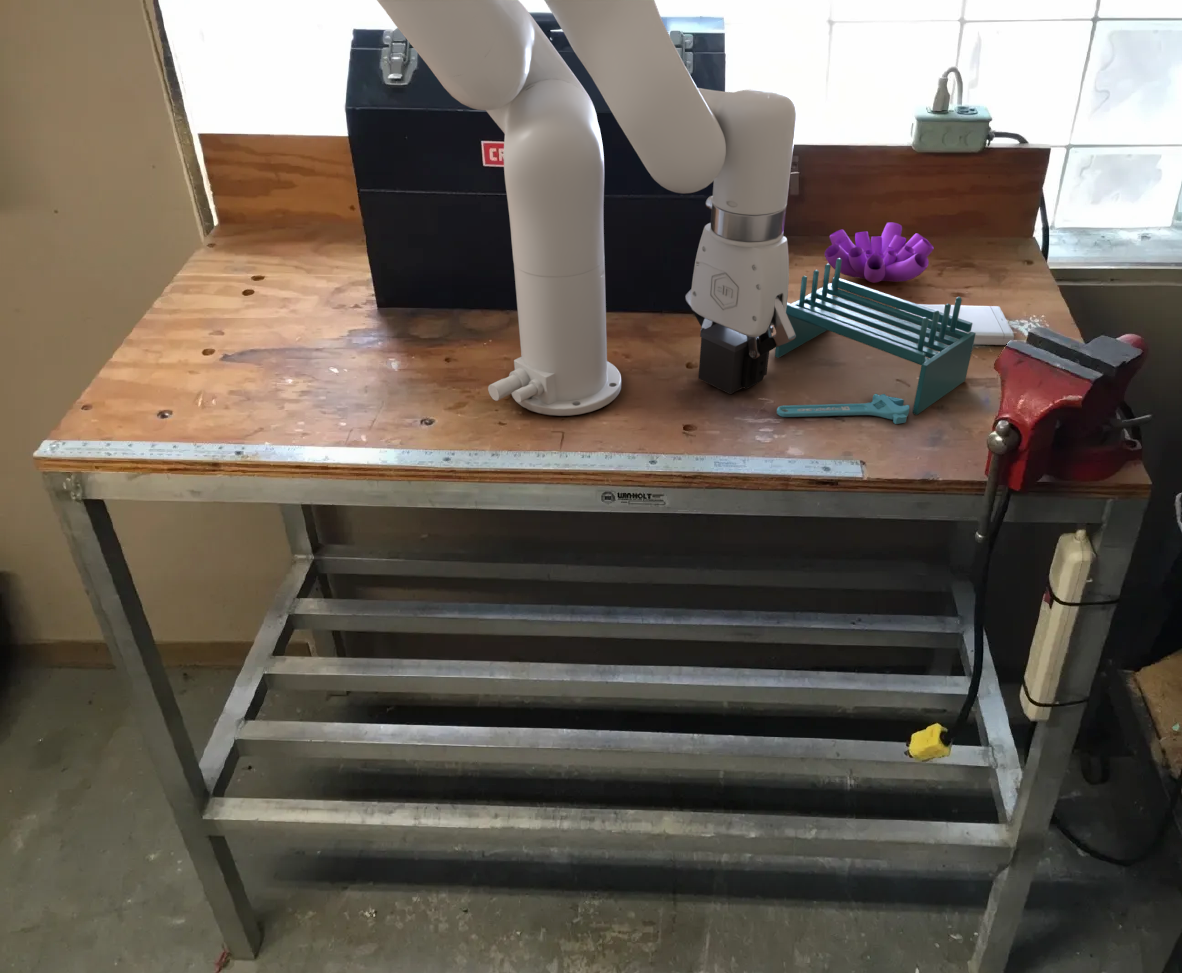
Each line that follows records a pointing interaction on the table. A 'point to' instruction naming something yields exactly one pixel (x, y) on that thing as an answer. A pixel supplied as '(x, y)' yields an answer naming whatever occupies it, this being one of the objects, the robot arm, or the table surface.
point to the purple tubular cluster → (880, 255)
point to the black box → (723, 357)
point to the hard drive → (980, 323)
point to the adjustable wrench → (852, 409)
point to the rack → (886, 330)
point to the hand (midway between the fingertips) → (732, 373)
